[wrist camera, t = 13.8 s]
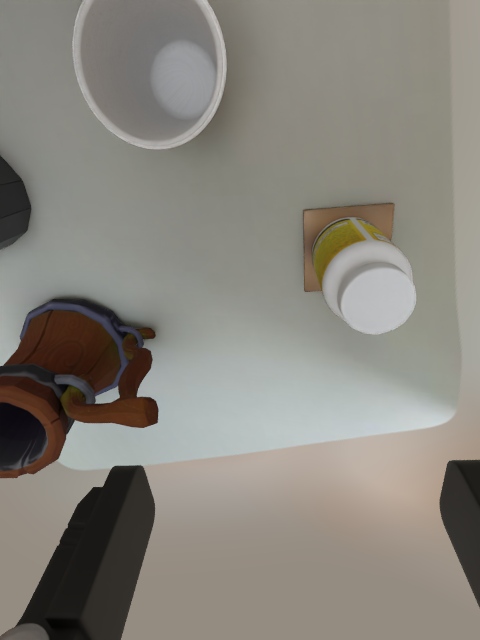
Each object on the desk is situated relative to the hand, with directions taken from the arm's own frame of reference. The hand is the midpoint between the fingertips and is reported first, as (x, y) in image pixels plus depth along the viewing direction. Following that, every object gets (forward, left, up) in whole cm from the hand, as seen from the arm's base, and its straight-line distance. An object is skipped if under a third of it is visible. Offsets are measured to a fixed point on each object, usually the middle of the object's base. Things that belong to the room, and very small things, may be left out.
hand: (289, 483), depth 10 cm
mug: (+10, -18, -27) cm, 34 cm away
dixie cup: (-12, -6, -27) cm, 30 cm away
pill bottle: (+2, +6, -26) cm, 27 cm away
